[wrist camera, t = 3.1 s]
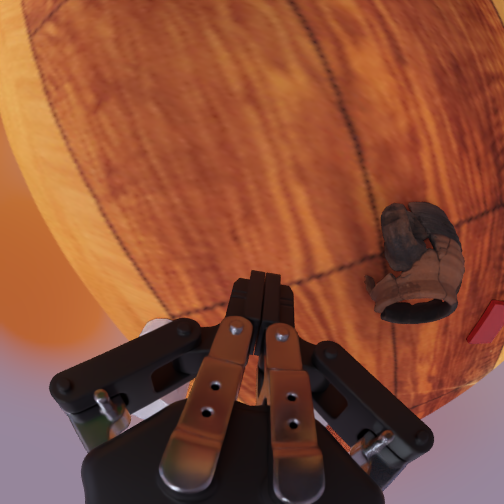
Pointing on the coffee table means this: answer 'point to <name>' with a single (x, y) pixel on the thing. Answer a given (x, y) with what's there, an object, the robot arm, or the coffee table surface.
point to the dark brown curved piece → (418, 265)
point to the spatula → (488, 324)
